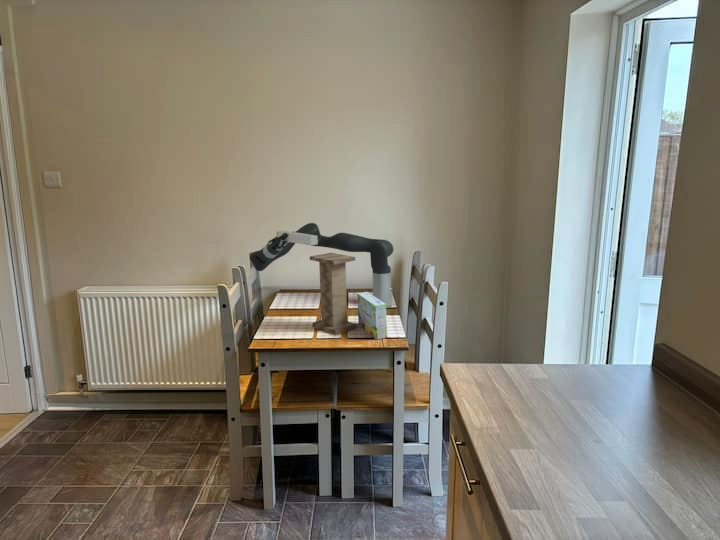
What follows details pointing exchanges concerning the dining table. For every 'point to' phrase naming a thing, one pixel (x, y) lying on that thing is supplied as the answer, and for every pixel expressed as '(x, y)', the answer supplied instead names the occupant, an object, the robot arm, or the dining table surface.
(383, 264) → the robot arm
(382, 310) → the snack box
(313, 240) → the bar
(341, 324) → the stand
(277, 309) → the dining table surface
